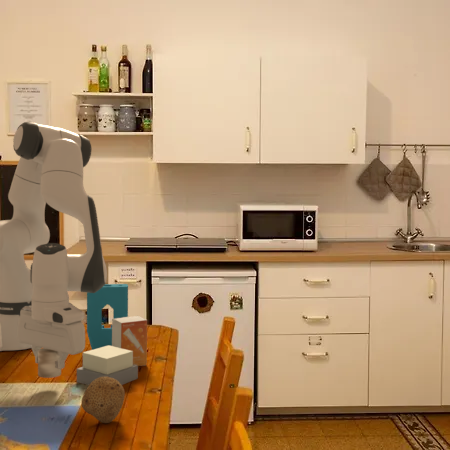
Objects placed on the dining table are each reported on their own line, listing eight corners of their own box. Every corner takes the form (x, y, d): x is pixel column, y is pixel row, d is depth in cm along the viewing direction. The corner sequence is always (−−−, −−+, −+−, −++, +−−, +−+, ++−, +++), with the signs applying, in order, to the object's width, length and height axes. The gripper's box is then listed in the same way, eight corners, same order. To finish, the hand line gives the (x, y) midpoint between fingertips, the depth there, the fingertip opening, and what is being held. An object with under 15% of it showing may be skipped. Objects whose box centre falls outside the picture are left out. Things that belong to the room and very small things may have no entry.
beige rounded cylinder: (33, 374, 156) (33, 351, 156) (50, 369, 161) (50, 346, 160) (49, 379, 153) (49, 354, 153) (65, 373, 158) (66, 349, 158)
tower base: (76, 384, 163) (76, 368, 162) (105, 373, 172) (105, 358, 172) (109, 392, 157) (109, 376, 157) (137, 380, 166) (137, 365, 166)
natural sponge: (77, 430, 132) (77, 383, 131) (86, 414, 141) (86, 370, 140) (121, 431, 132) (121, 384, 131) (127, 415, 141) (127, 370, 140)
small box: (120, 369, 174) (120, 322, 173) (111, 363, 179) (111, 318, 178) (147, 365, 178) (147, 319, 177) (137, 359, 183) (137, 315, 182)
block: (86, 354, 188) (86, 287, 186) (87, 349, 193) (87, 284, 191) (127, 352, 190) (128, 286, 189) (127, 348, 195) (127, 283, 193)
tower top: (82, 367, 163) (82, 352, 163) (108, 359, 170) (108, 345, 170) (106, 374, 158) (106, 358, 158) (132, 366, 165) (132, 351, 165)
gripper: (11, 306, 159) (10, 361, 160) (70, 318, 148) (70, 376, 149) (30, 302, 164) (30, 355, 165) (89, 313, 153) (89, 369, 155)
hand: (49, 365), depth 157 cm, fingers closed on beige rounded cylinder, 5 cm apart
